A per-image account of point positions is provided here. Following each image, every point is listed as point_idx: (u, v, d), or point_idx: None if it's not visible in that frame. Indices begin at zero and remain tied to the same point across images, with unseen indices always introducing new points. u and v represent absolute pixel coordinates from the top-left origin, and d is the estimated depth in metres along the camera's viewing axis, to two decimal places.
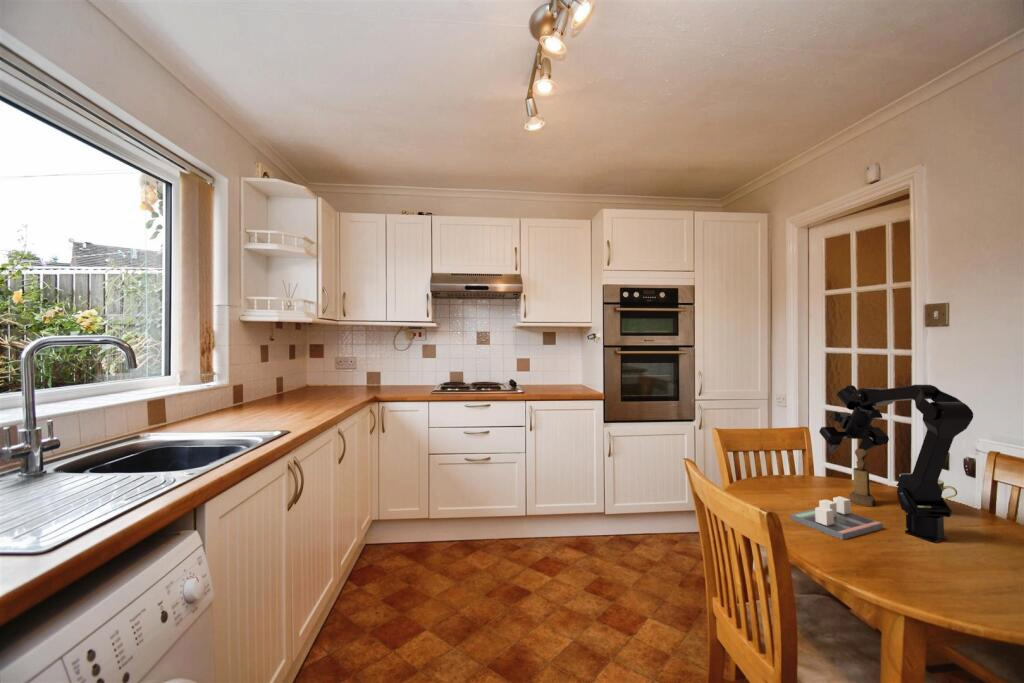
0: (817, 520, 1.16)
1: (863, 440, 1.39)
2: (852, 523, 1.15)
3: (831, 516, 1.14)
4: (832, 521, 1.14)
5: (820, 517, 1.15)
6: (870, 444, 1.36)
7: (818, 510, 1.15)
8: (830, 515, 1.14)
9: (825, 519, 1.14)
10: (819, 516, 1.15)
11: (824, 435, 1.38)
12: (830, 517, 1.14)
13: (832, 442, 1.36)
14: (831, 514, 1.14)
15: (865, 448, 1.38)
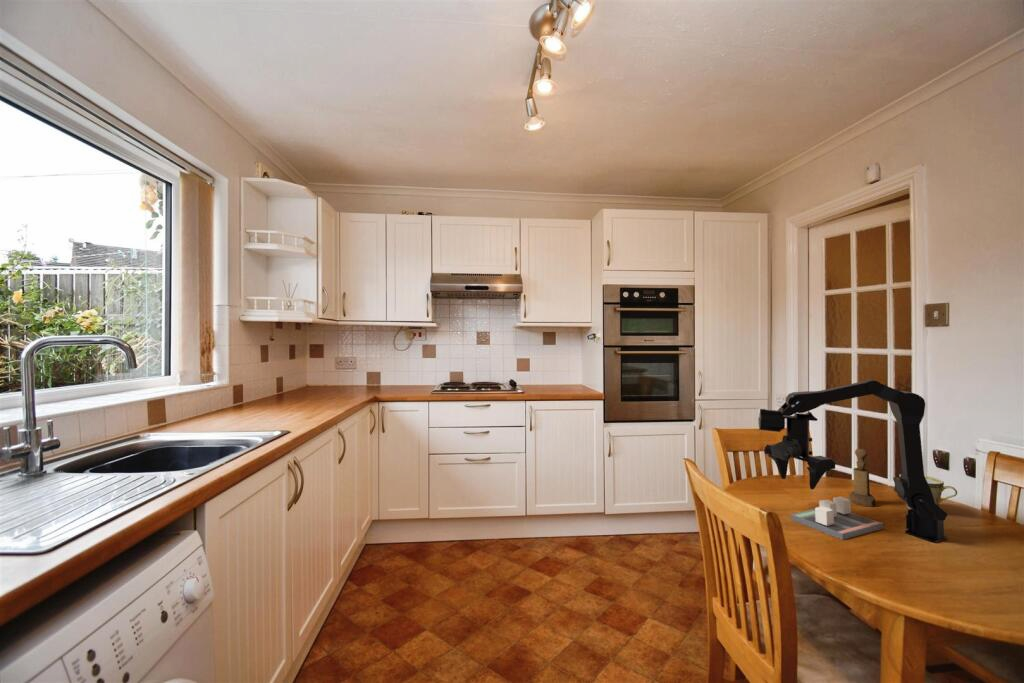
0: (817, 520, 1.16)
1: (780, 463, 1.28)
2: (852, 523, 1.15)
3: (831, 516, 1.14)
4: (832, 521, 1.14)
5: (820, 517, 1.15)
6: None
7: (818, 510, 1.15)
8: (830, 515, 1.14)
9: (825, 519, 1.14)
10: (819, 516, 1.15)
11: (829, 465, 1.14)
12: (830, 517, 1.14)
13: None
14: (831, 514, 1.14)
15: (786, 467, 1.28)
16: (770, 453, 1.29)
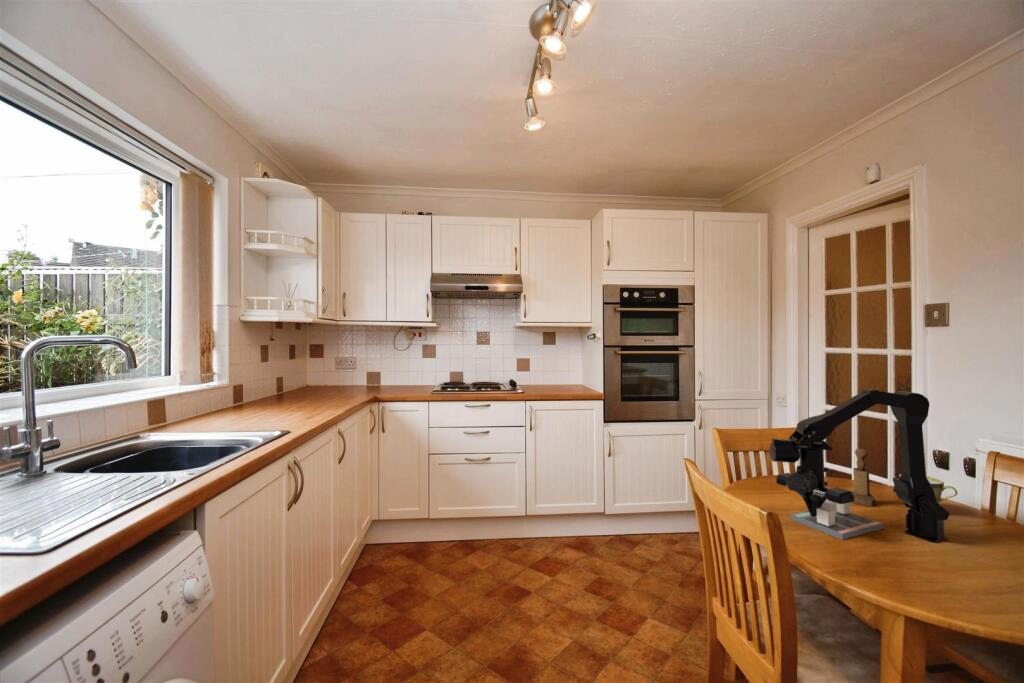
0: (818, 521, 1.15)
1: (809, 499, 1.18)
2: (852, 523, 1.15)
3: (833, 517, 1.14)
4: (834, 522, 1.14)
5: (821, 518, 1.14)
6: None
7: (819, 511, 1.15)
8: (832, 516, 1.13)
9: (826, 519, 1.13)
10: (820, 517, 1.15)
11: (848, 498, 1.10)
12: (832, 518, 1.13)
13: None
14: (833, 515, 1.14)
15: None
16: (783, 484, 1.23)
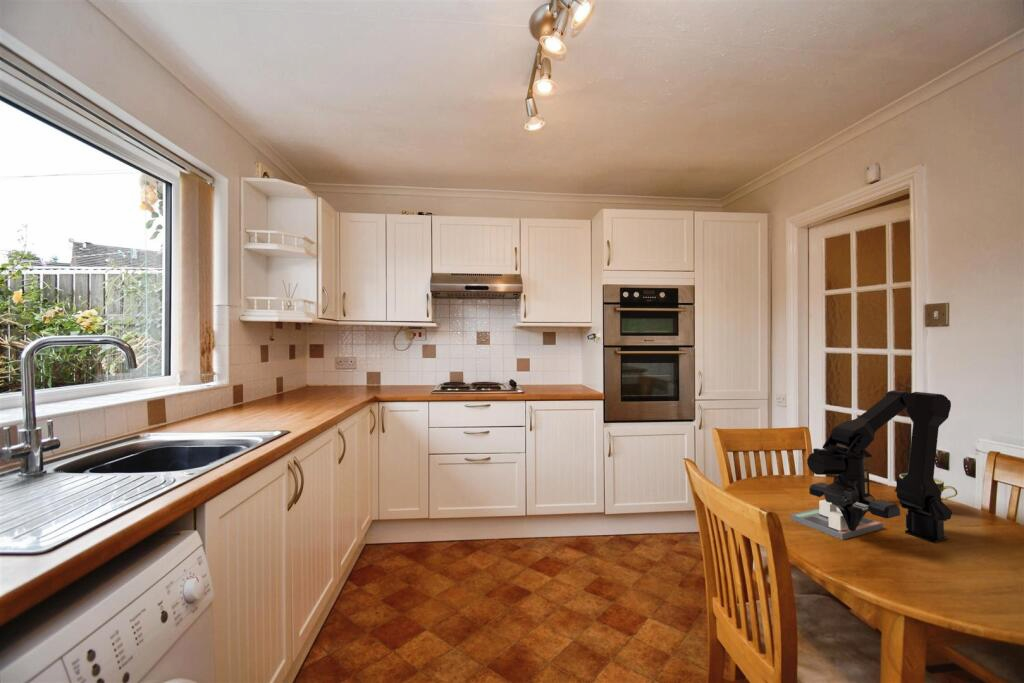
0: (830, 525, 1.12)
1: (847, 511, 1.09)
2: None
3: (845, 521, 1.11)
4: (846, 526, 1.11)
5: (833, 522, 1.11)
6: None
7: (831, 515, 1.12)
8: (844, 520, 1.11)
9: (838, 524, 1.10)
10: (832, 521, 1.12)
11: (894, 512, 1.00)
12: (844, 522, 1.11)
13: None
14: None
15: None
16: (817, 494, 1.14)
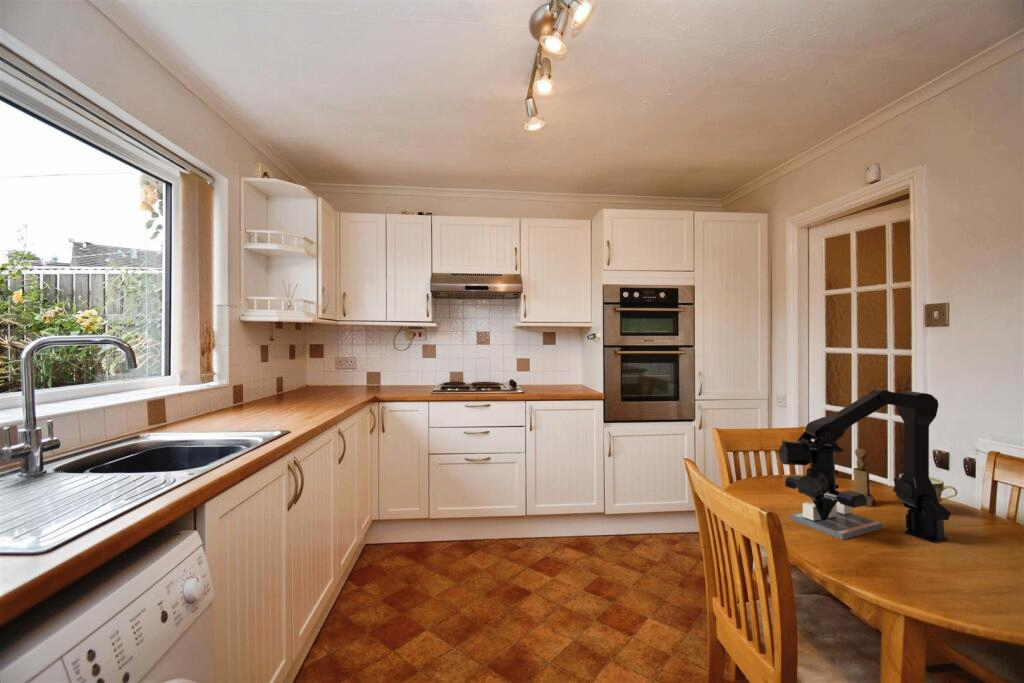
0: (804, 515, 1.19)
1: (819, 502, 1.15)
2: (852, 523, 1.15)
3: None
4: (819, 516, 1.17)
5: (807, 512, 1.18)
6: None
7: (805, 505, 1.19)
8: (817, 510, 1.17)
9: (811, 514, 1.17)
10: (806, 511, 1.18)
11: (861, 502, 1.07)
12: (817, 512, 1.17)
13: None
14: None
15: None
16: (792, 486, 1.21)
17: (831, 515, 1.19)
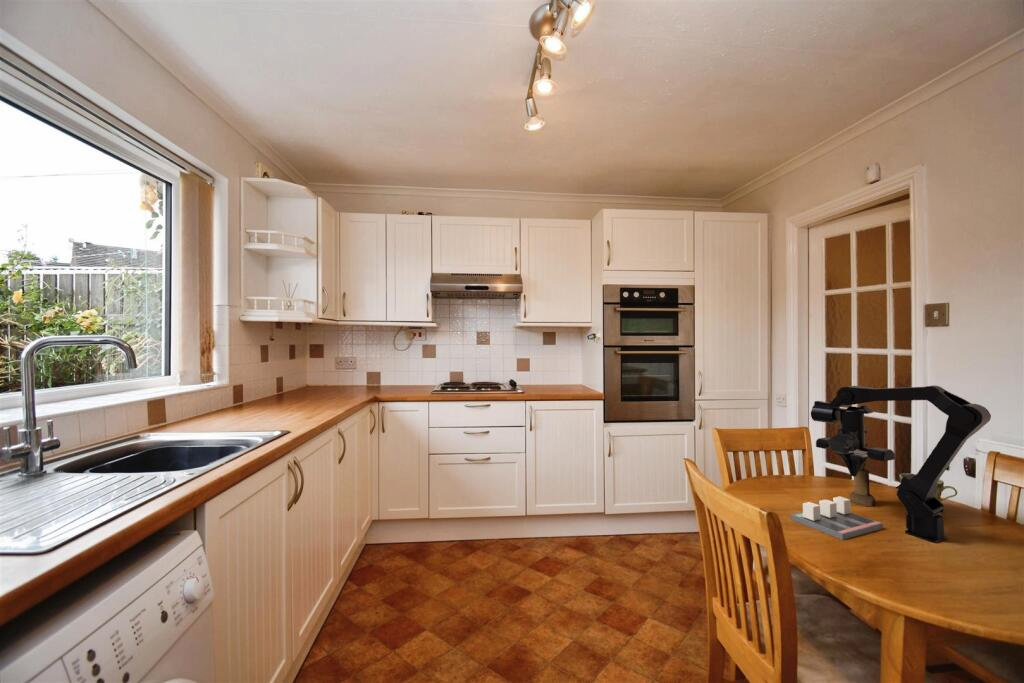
0: (804, 515, 1.19)
1: (849, 460, 1.25)
2: (852, 523, 1.15)
3: (818, 511, 1.17)
4: (819, 516, 1.17)
5: (807, 512, 1.18)
6: None
7: (805, 505, 1.19)
8: (817, 510, 1.17)
9: (811, 514, 1.17)
10: (806, 511, 1.18)
11: (890, 456, 1.16)
12: (817, 512, 1.17)
13: None
14: (818, 509, 1.17)
15: None
16: (823, 447, 1.30)
17: (831, 515, 1.19)
